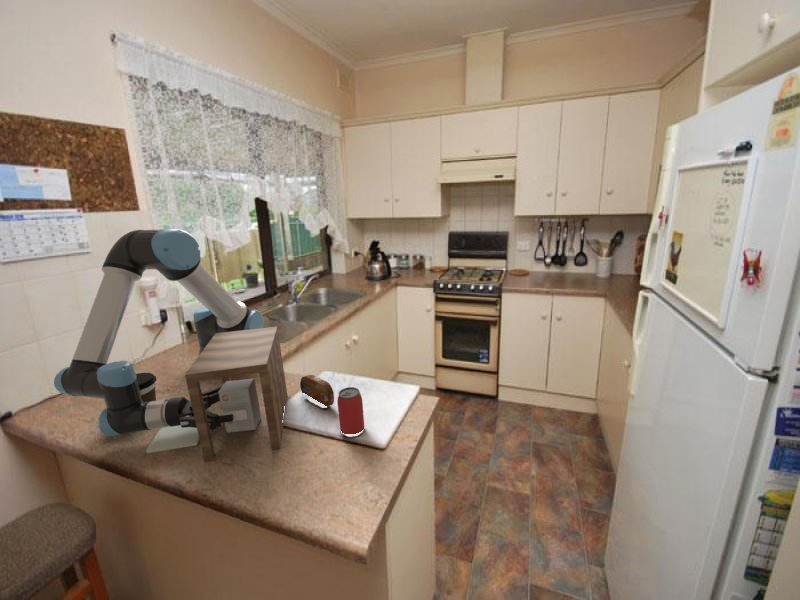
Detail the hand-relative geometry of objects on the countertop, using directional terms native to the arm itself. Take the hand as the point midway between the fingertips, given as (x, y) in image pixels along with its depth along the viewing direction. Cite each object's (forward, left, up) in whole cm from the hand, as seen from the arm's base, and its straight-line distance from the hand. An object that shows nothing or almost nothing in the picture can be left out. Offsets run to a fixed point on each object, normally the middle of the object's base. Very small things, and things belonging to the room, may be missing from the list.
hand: (251, 400), depth 104 cm
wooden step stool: (0, -1, -8) cm, 8 cm away
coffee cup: (-15, -35, -8) cm, 39 cm away
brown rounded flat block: (-6, +18, -8) cm, 21 cm away
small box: (0, -3, -8) cm, 8 cm away
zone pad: (0, -20, -8) cm, 21 cm away
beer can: (+12, +27, -8) cm, 30 cm away
